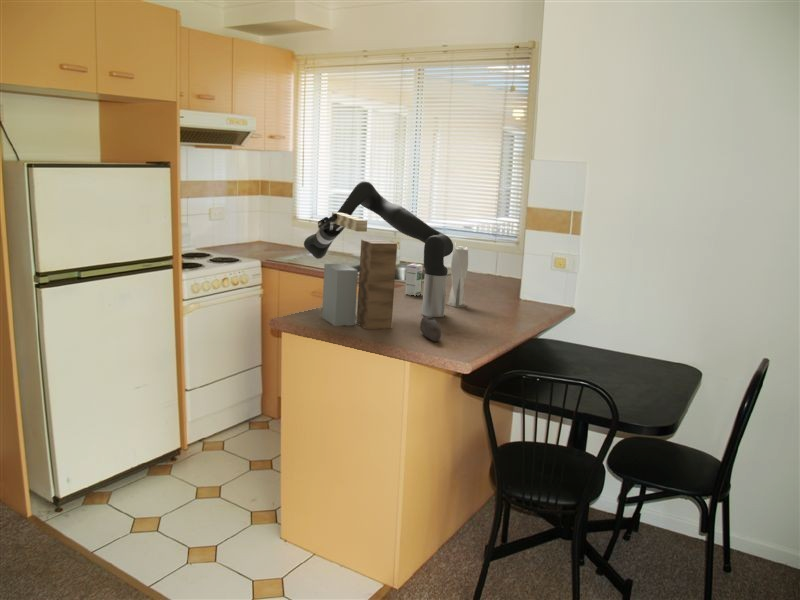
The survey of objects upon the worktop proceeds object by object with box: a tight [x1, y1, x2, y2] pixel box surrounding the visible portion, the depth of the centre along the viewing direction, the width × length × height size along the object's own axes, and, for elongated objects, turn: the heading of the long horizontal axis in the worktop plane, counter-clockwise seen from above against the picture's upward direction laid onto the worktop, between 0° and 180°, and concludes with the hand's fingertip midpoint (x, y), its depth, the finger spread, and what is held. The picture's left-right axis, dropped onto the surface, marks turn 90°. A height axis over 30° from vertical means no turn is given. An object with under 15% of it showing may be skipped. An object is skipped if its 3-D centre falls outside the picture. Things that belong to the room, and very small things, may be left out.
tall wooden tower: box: [356, 239, 398, 330], centre depth 251 cm, size 10×10×32 cm
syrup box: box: [404, 263, 424, 297], centre depth 317 cm, size 6×6×14 cm
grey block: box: [321, 263, 359, 327], centre depth 255 cm, size 14×8×21 cm, turn 26°
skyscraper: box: [445, 241, 469, 309], centre depth 299 cm, size 8×8×28 cm
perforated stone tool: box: [419, 315, 442, 343], centre depth 241 cm, size 15×5×7 cm, turn 14°
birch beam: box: [331, 211, 368, 233], centre depth 254 cm, size 26×4×4 cm, turn 26°
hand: (341, 215), depth 261 cm, fingers closed on birch beam, 4 cm apart
